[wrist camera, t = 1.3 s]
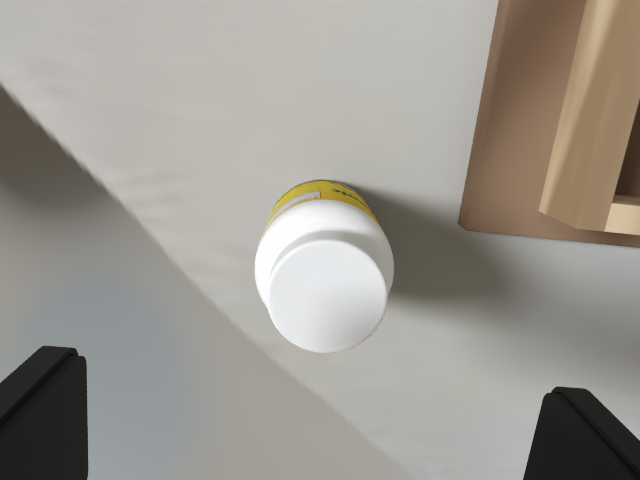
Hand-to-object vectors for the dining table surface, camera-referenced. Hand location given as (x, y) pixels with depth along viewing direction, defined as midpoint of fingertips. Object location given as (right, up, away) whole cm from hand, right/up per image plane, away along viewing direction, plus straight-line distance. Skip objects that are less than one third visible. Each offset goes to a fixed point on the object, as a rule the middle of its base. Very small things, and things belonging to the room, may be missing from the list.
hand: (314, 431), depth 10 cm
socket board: (+16, +10, +14) cm, 23 cm away
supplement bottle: (0, +4, +16) cm, 16 cm away
